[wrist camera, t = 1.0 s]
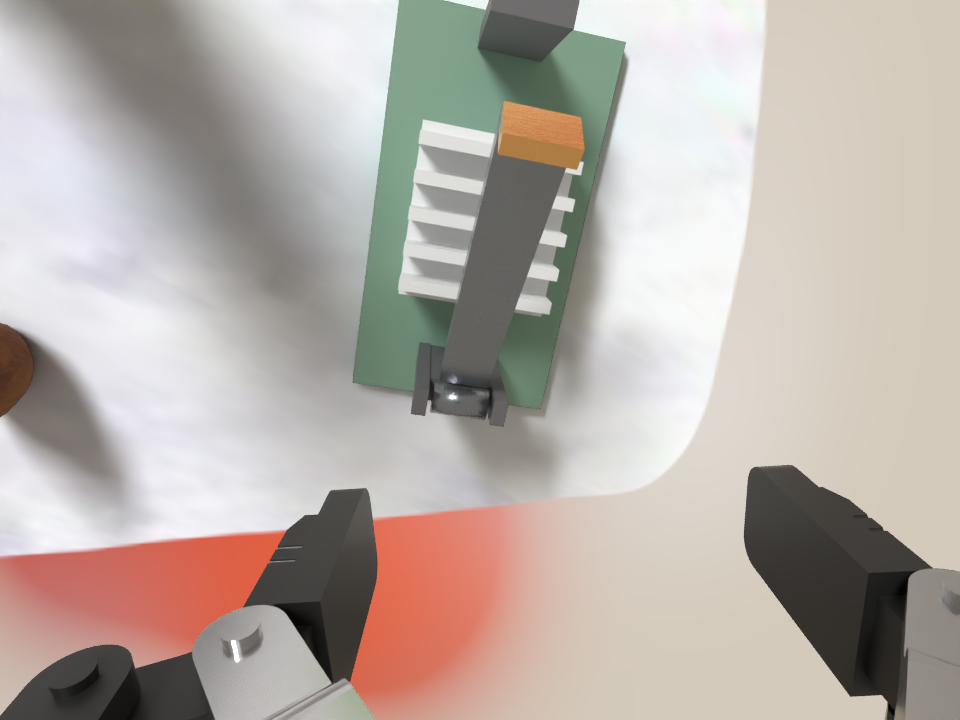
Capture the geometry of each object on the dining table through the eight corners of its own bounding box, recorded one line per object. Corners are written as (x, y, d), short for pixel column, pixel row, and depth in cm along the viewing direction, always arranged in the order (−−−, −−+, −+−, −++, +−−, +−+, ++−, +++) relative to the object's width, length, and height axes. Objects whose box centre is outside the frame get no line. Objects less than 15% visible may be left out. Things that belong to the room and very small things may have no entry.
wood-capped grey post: (484, 391, 35) (482, 426, 34) (432, 384, 35) (428, 419, 34) (585, 110, 21) (590, 150, 19) (498, 92, 20) (497, 131, 19)
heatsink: (354, 377, 42) (330, 438, 33) (401, -5, 35) (388, -69, 25) (538, 404, 44) (566, 469, 35) (621, 45, 36) (685, 3, 27)
